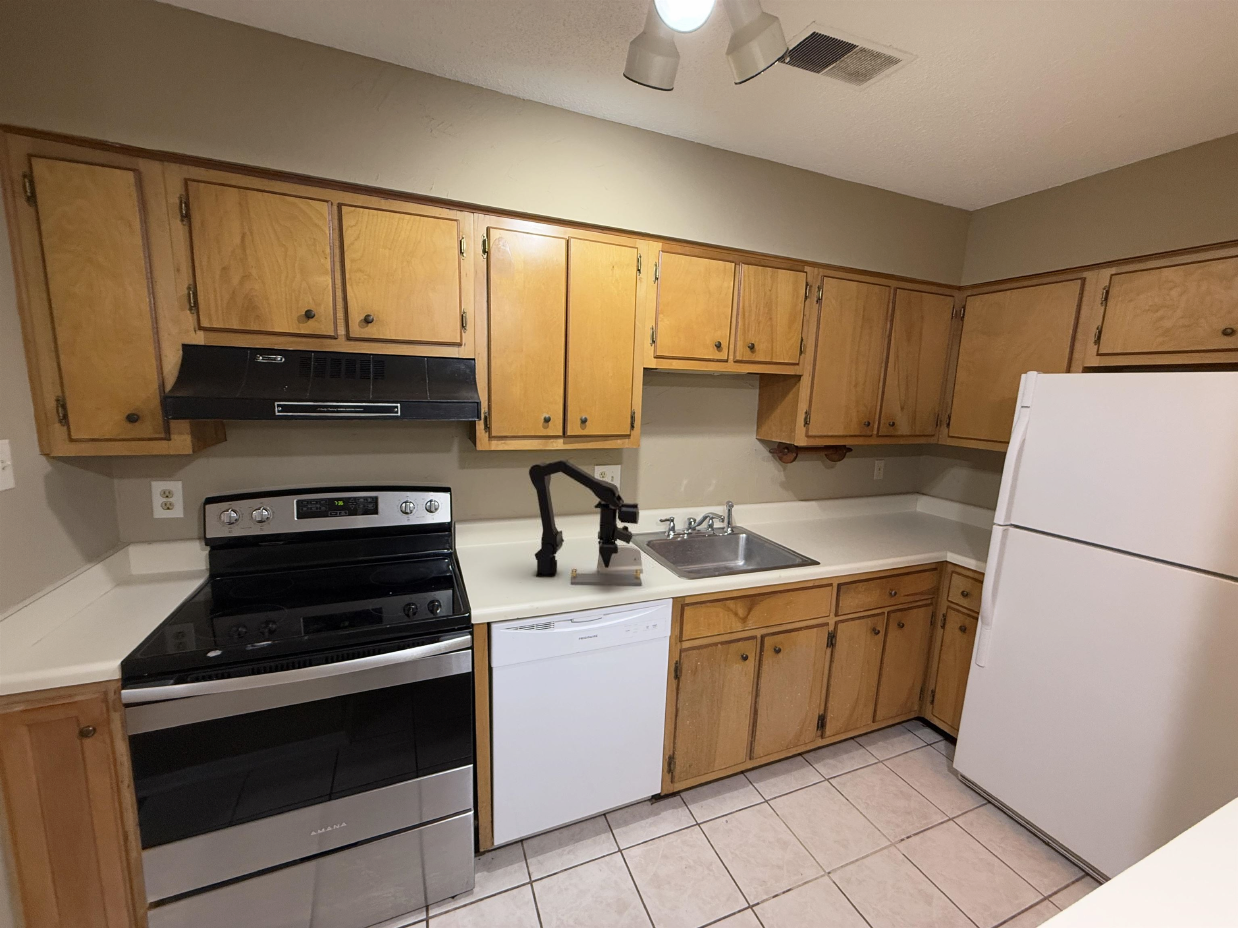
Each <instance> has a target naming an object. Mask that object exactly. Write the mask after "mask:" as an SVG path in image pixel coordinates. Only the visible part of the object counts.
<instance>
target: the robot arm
mask: <svg viewBox="0 0 1238 928" xmlns="http://www.w3.org/2000/svg"><path fill="white" fill-rule="evenodd" d="M559 473H561V474H563V475H565V476H566V477H569V478H570V479H572V480H574V481H576V482H577V483H578V484H580V485H582V486H584V487H585V488H587V489H589V491H591V492H592V493H593V494H594V496H595V497H596V498H598V502H597V503H596V504H595V505H594V506H593V507H594V509H599V523H598V524H599V525H598V526H599V530H598V532H597V540H598V541H597V542H598V543H597V545H598V554H599V553H600V555H601V557H602V560H603V563H604V565H605V568H608V567H609V564H610V560H611V556H612V554H617V553H618V545H619V544H618V543H617V542H618V541H621V542H623V543H626V544H627V545H630V543H631V542H632V539H633V536H634V534H633V533H632V531H631V530H629V526H627V525H626V524H633V525H634V524H635V525H638V524H639V520H640V509H639V503H637V502H635V503H630V502H629V503H628V502H625V501H624V499H623V497H622V496H621V495H620V490H619V487H618V486H617V485H615V483H611V482H609V481H606V480H603V479H599V478H596V477H595V476H593V475H592V474H591V473H588V472H587V471H585V470H584V469H581V467H578V466H576V465H575V464H574V463H571V462H570V461H569V460H568V459H566V458H564V459H559V460H556V461H553V462H549V463H547V462H545V461H544V462H543V461H542V462H538V463H536V464H533V465H531V466H530V468H529V469H528V475H529V476H528V477H529V478H530V481H531V484H532V486H533V488H534V489H535V490H536V495H537V503H538V508H539V515H540V521H541V526H542V534H541V541H540V543H541V544H540V547H541V548H540V549H539V550H537V552H535V553H534V557H535V561H536V574H535V576H536V577H540V578H541V577H547V578H548V577H549V578H551V577H555V576H556V574H557V573H558V559H556V557H557V556H556V555H557V553H558V552H559V551H560V549H562V547H563V545H564V544H563V543H565V540H564V536H563V530H558V527H556V520H555V516H554V507H553V502H552V497H551V489H550V487H551V480H552V475H555V474H559ZM617 520H618V521H619V522H620V523H621V524H623V523H624V524H625V525H622V526H621V527H618V521H617Z"/></svg>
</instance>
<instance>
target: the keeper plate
mask: <svg viewBox="0 0 1238 928" xmlns="http://www.w3.org/2000/svg"><path fill="white" fill-rule="evenodd" d="M577 570H578V569H577V568H572V569H571V575H570V576H571V577H570V585H571V586H607V587H609V586H611V587H612V586H614V587H617V586H618V587H619V586H622V587H643V583H642V578H641V574H640V570H636V574H599V573H597V572H596V573H595V572H594V573H590V572H589V573H587V572H584V573H583V572H580V573H579V572H578V571H577Z"/></svg>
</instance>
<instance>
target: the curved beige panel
mask: <svg viewBox="0 0 1238 928" xmlns="http://www.w3.org/2000/svg"><path fill="white" fill-rule="evenodd" d="M617 545H618V553H617V554H612V556H611V560H610V564H609V567H608V568H605V565H604V563H603V560H602V557H601V555H600V553H599V552H598V558H597V564H596V570H597V571H598V574H636V570H640V575H641V574H644V571H643V570H644V569H643V560H642V552H641V550H640V549H639V547H635V546H632V545H628V544H627V545H626V544H625V545H624V544H617Z"/></svg>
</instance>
